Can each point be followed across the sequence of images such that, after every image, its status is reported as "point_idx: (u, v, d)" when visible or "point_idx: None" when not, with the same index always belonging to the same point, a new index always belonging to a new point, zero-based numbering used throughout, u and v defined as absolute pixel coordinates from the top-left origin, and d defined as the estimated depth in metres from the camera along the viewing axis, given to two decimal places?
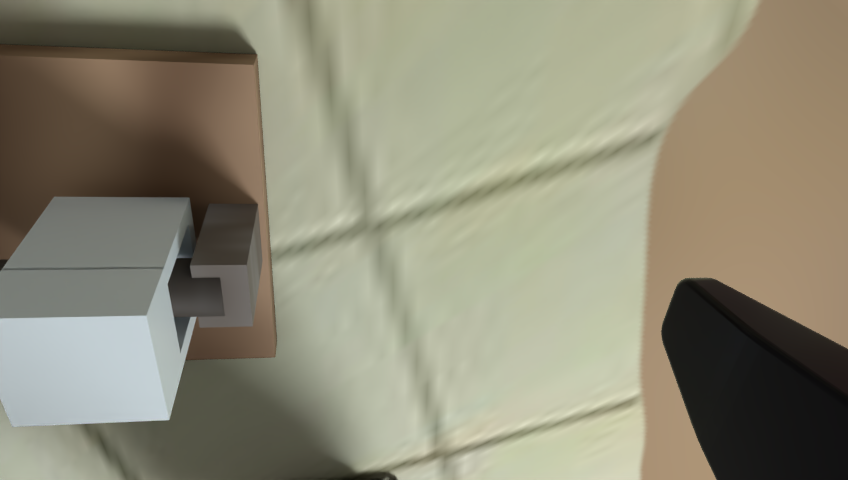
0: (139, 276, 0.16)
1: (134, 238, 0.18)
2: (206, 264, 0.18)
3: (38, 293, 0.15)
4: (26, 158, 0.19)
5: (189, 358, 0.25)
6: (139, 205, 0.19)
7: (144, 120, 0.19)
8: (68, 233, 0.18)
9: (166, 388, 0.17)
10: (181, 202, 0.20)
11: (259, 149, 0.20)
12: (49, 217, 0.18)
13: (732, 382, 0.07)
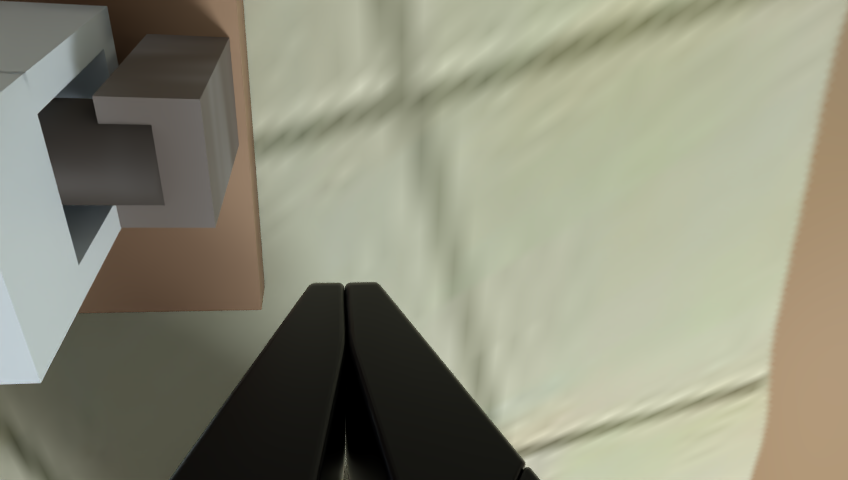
0: None
1: None
2: (124, 96, 0.10)
3: None
4: None
5: (130, 309, 0.16)
6: (13, 8, 0.11)
7: None
8: None
9: (32, 318, 0.09)
10: (91, 9, 0.11)
11: None
12: None
13: (349, 397, 0.07)
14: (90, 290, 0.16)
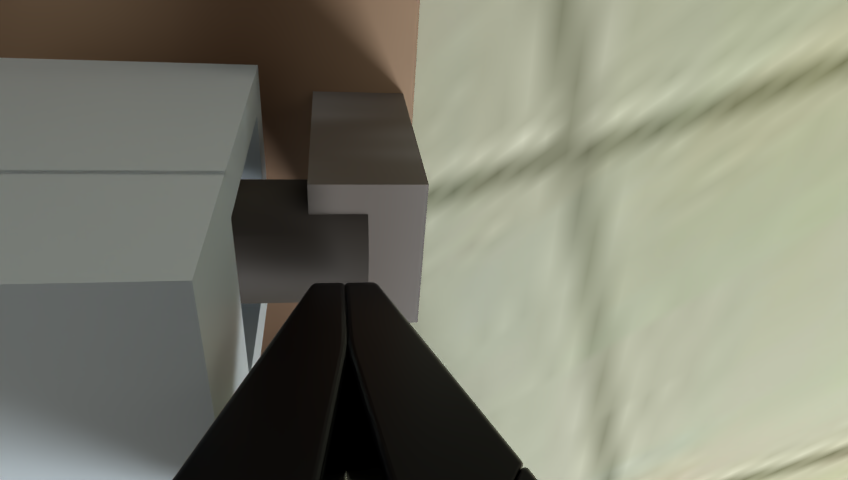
0: (165, 189, 0.06)
1: (151, 121, 0.08)
2: (342, 183, 0.08)
3: None
4: None
5: None
6: (158, 72, 0.09)
7: None
8: None
9: None
10: (243, 71, 0.10)
11: None
12: None
13: (346, 398, 0.07)
14: None
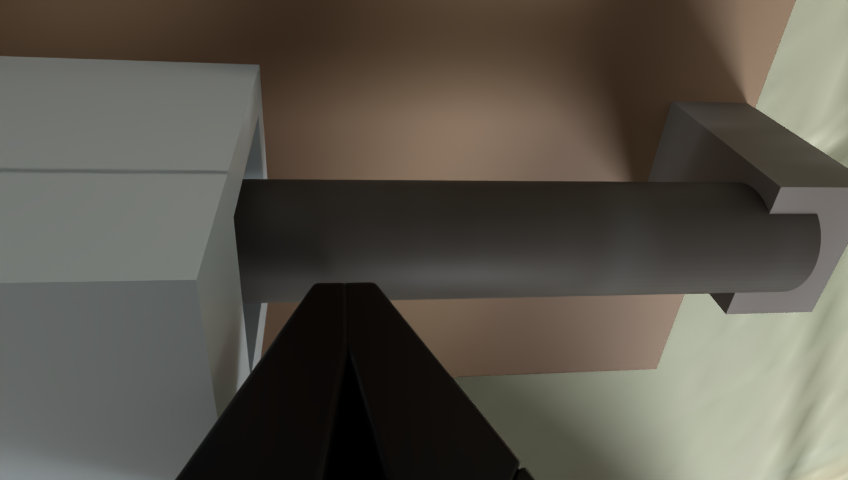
0: (169, 188, 0.06)
1: (153, 120, 0.08)
2: (806, 186, 0.09)
3: None
4: (406, 1, 0.10)
5: (534, 371, 0.16)
6: (160, 72, 0.09)
7: None
8: (1, 108, 0.08)
9: None
10: (244, 70, 0.10)
11: None
12: None
13: None
14: (505, 353, 0.15)
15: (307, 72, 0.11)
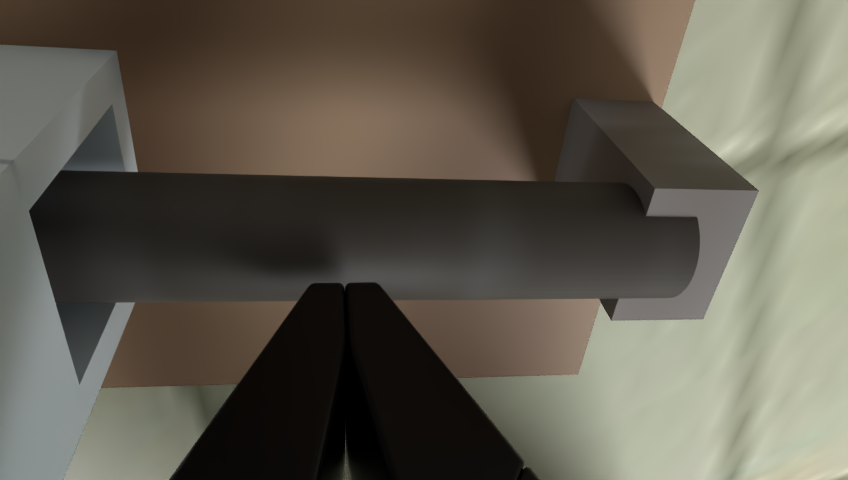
0: None
1: None
2: (683, 187, 0.09)
3: None
4: None
5: None
6: (0, 56, 0.09)
7: None
8: None
9: None
10: (97, 56, 0.09)
11: None
12: None
13: (348, 398, 0.07)
14: None
15: (180, 60, 0.10)
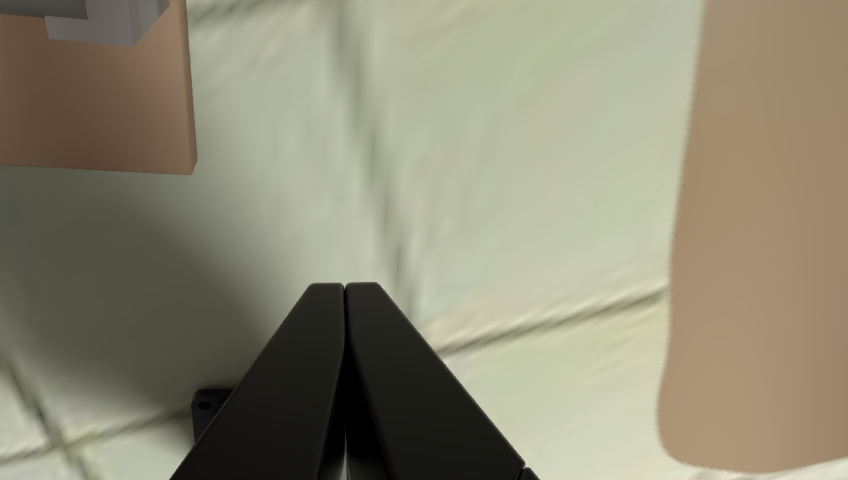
0: None
1: None
2: None
3: None
4: None
5: (68, 165, 0.18)
6: None
7: None
8: None
9: None
10: None
11: None
12: None
13: (349, 397, 0.07)
14: (32, 142, 0.17)
15: None
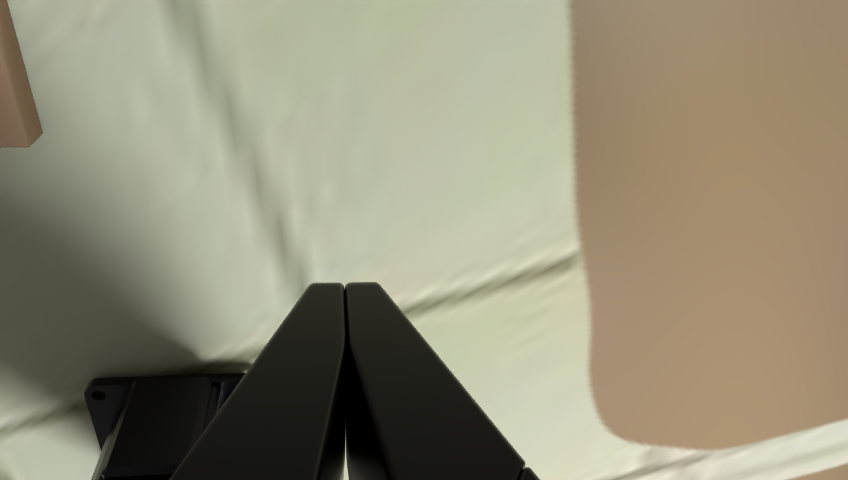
0: None
1: None
2: None
3: None
4: None
5: None
6: None
7: None
8: None
9: None
10: None
11: None
12: None
13: (348, 398, 0.07)
14: None
15: None
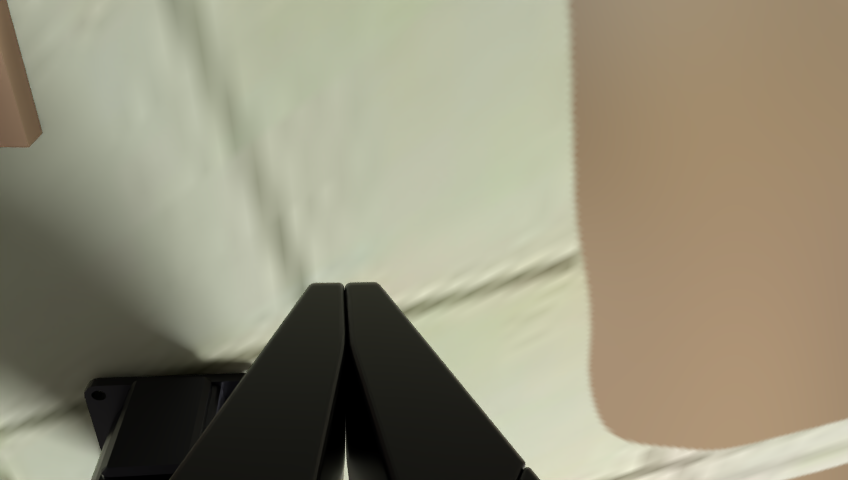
0: None
1: None
2: None
3: None
4: None
5: None
6: None
7: None
8: None
9: None
10: None
11: None
12: None
13: (348, 398, 0.07)
14: None
15: None
